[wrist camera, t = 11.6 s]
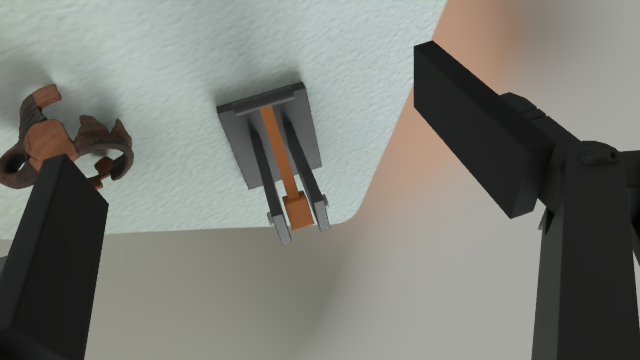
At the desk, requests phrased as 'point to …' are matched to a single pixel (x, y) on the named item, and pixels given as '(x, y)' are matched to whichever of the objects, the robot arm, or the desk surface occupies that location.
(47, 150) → the brown jagged hollow piece
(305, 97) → the switch base
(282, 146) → the switch
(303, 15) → the desk surface
